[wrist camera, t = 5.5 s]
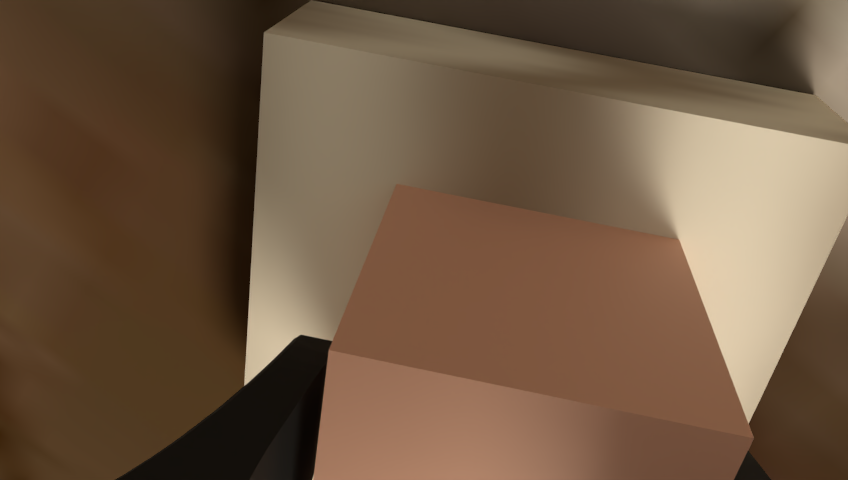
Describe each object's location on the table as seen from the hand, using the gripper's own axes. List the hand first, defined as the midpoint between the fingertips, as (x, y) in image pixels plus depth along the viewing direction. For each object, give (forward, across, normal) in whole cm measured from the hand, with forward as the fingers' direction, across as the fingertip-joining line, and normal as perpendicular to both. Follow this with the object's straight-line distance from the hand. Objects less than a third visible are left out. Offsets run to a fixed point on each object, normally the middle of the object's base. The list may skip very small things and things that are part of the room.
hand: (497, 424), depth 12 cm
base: (+5, 0, 0) cm, 5 cm away
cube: (+2, 0, 0) cm, 2 cm away
